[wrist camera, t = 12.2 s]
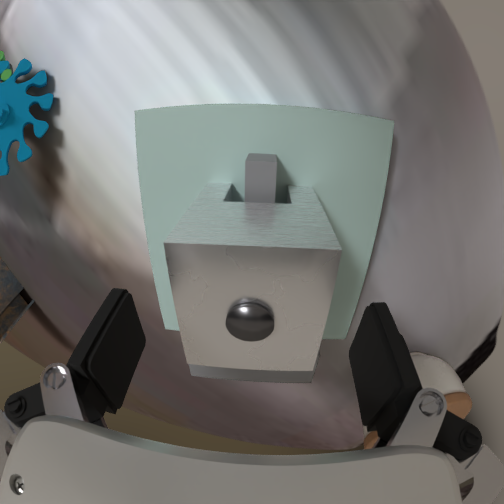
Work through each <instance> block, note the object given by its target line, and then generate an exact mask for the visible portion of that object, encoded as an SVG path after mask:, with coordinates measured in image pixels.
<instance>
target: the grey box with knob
mask: <svg viewBox="0 0 504 504" xmlns="http://www.w3.org/2000/svg"><path fill="white" fill-rule="evenodd" d="M164 250H165V256H166V262H167V268H168V274H169V280H170V285H171V291H172V296H173V301H174V306H175V311H176V316H177V321H178V325H179V330H180V334H181V339H182V343H183V347H184V351H185V355H186V359H187V363H188V364H194V365H203V366H212V367H223V368H236V369H251V370H275V371H313V368H314V365H315V361H316V358H317V355H318V351H319V347H320V344H321V340H322V336H323V333H324V329H325V325H326V321H327V317H328V313H329V309H330V304H331V300H332V296H333V291H334V287H335V282H336V278H337V273H338V268H339V263H340V258H341V253H342V249H341V246H340V244H339V242H338V240H337V237H336V235H335V233H334V231H333V229H332V227H331V224H330V222H329V220H328V218H327V216H326V214H325V212H324V210H323V208H322V206H321V203H320V201H319V199H318V197H317V195H316V193H315V191H314V189H313V187H312V186H300V185H288V187H287V204H281V203H257V202H232V183H207V184H206V186H205V187H204V188H203V189H202V191H201V192H200V193H199V195H198V196H197V197H196V199H195V200H194V201H193V203H192V204H191V205H190V207H189V208H188V209H187V211H186V212H185V213H184V215H183V216H182V217H181V219H180V220H179V221H178V223H177V224H176V226H175V227H174V228H173V230H172V231H171V233H170V234H169V235H168V237H167V238H166V240H165V241H164Z"/></svg>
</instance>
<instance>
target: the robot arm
mask: <svg viewBox="0 0 504 504" xmlns="http://www.w3.org/2000/svg"><path fill="white" fill-rule="evenodd" d="M145 343H146V339H145V335H144V332H143V329H142V326H141V323H140V320H139V317H138V314H137V311H136V308H135V305H134V301H133V298H132V295H131V294H130V293H128V291H127V290H126V289H118V288H113V289H112V290H111V292H110V293H109V295H108V296H107V298H106V299H105V301H104V302H103V304H102V305H101V307H100V309H99V310H98V312H97V313H96V315H95V316H94V318H93V320H92V321H91V323H90V325H89V326H88V328H87V329H86V331H85V333H84V334H83V336H82V338H81V340H80V341H79V343H78V345H77V346H76V348H75V350H74V352H73V353H72V355H71V357H70V359H69V361H68V363H67V365H66V366H65V365H64V364H61V363H54V364H51V365H49V366H48V367H46V368H45V369H44V371H43V372H42V374H41V377H40V383H38V384H35V385H33V386H31V387H28V388H26V389H24V390H21V391H19V392H17V393H14V394H12V395H11V396H10V397H9V398H8V399H7V401H6V403H5V407H4V408H5V411H3V410H0V504H492V503H493V501H494V500H495V498H496V497H497V496H498V494H499V493H500V491H501V490H502V488H503V486H504V465H503V463H502V462H501V461H500V460H499V459H498V458H497V457H496V455H495V454H494V453H493V452H492V451H491V450H490V449H489V447H488V446H487V445H486V444H485V445H482V436H481V433H480V431H479V430H478V428H477V427H475V426H474V425H472V424H470V423H469V422H467V421H465V420H463V419H462V418H460V417H458V416H457V415H455V414H453V413H452V412H450V411H448V410H447V401H446V399H445V397H444V395H443V394H442V393H441V392H440V391H438V390H437V389H434V388H424V389H423V388H422V385H421V382H420V379H419V376H418V374H417V371H416V368H415V366H414V363H413V360H412V358H411V355H410V353H409V350H408V348H407V345H406V343H405V340H404V338H403V336H402V335H401V334H399V331H398V329H397V327H396V324H395V322H394V320H393V317H392V315H391V313H390V311H389V308H388V306H387V304H386V303H385V302H381V303H371V304H370V306H367V307H366V309H365V311H364V314H363V317H362V319H361V322H360V325H359V327H358V330H357V333H356V335H355V338H354V340H353V343H352V345H351V347H350V350H349V359H350V364H351V368H352V373H353V378H354V382H355V387H356V392H357V397H358V402H359V408H360V413H361V419H362V424H363V425H364V426H367V432H371V431H377V434H378V437H379V438H378V439H377V441H376V443H375V444H374V446H373V447H372V449H365V450H357V451H349V452H339V453H327V454H313V455H251V454H250V455H249V454H236V453H224V452H215V451H207V450H200V449H193V448H187V447H180V446H175V445H170V444H165V443H160V442H155V441H151V440H147V439H143V438H139V437H135V436H132V435H128V434H124V433H121V432H117V431H113V430H110V429H108V427H107V425H106V423H105V420H104V418H103V416H104V413H105V411H107V412H109V413H113V414H116V411H117V409H120V408H121V406H122V404H123V401H124V398H125V395H126V393H127V390H128V387H129V385H130V382H131V379H132V377H133V374H134V372H135V369H136V367H137V364H138V361H139V359H140V356H141V354H142V352H143V349H144V347H145Z"/></svg>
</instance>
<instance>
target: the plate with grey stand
mask: <svg viewBox="0 0 504 504" xmlns="http://www.w3.org/2000/svg"><path fill="white" fill-rule="evenodd" d="M393 129H394V121H391V120H387V119H382V118H377V117H372V116H367V115H361V114H355V113H349V112H342V111H335V110H328V109H319V108H310V107H299V106H286V105H268V104H204V105H186V106H173V107H163V108H153V109H145V110H138V111H135V131H136V148H137V161H138V173H139V183H140V192H141V200H142V208H143V216H144V223H145V230H146V236H147V242H148V248H149V254H150V260H151V265H152V270H153V276H154V281H155V286H156V290H157V295H158V300H159V304H160V308H161V313H162V317H163V321H164V325H165V329H171V330H179V325H178V321H177V316H176V311H175V306H174V301H173V296H172V291H171V285H170V280H169V274H168V268H167V262H166V256H165V250H164V241H165V240H166V238H167V237H168V235H169V234H170V233H171V231H172V230H173V228H174V227H175V226H176V224H177V223H178V221H179V220H180V219H181V217H182V216H183V215H184V213H185V212H186V211H187V209H188V208H189V207H190V205H191V204H192V203H193V201H194V200H195V199H196V197H197V196H198V195H199V193H200V192H201V191H202V189H203V188H204V187H205V186H206V184H207V183H232V202H257V203H281V204H287V187H288V185H300V186H312V187H313V189H314V191H315V193H316V195H317V197H318V199H319V201H320V203H321V206H322V208H323V210H324V212H325V214H326V216H327V218H328V220H329V222H330V224H331V227H332V229H333V231H334V233H335V235H336V237H337V240H338V242H339V244H340V246H341V249H342V253H341V258H340V263H339V268H338V273H337V278H336V282H335V287H334V291H333V296H332V300H331V304H330V309H329V313H328V317H327V321H326V325H325V329H324V333H323V336H322V339H345V338H346V336H347V333H348V330H349V327H350V324H351V321H352V318H353V315H354V312H355V309H356V306H357V303H358V299H359V296H360V293H361V289H362V286H363V283H364V279H365V276H366V272H367V268H368V264H369V261H370V257H371V253H372V249H373V245H374V241H375V236H376V232H377V228H378V223H379V218H380V214H381V209H382V203H383V198H384V193H385V187H386V181H387V175H388V169H389V162H390V155H391V147H392V139H393ZM179 331H180V330H179ZM319 357H320V352H319V351H318V355H317V358H316V361H315V365H314V368H313V371H275V370H251V369H236V368H223V367H212V366H203V365H194V364H189V368H190V372H191V376H199V377H207V378H216V379H227V380H239V381H253V382H275V383H311V382H312V379H313V376H314V373H315V370H316V367H317V364H318V360H319Z"/></svg>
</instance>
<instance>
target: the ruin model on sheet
mask: <svg viewBox="0 0 504 504" xmlns="http://www.w3.org/2000/svg"><path fill="white" fill-rule="evenodd" d="M22 289H23V286H22V285H21V284H20V283H19V282H18V280H17V279H16V278H15V276H14V275H13V274H12V272H11V271H10V270H9V268H8V267H7V266H6V264H5V263H4V261H3V260H2V259H1V257H0V343H2V341H3V340H4V339H5V337H6V336H7V335H8V333H9V332H10V331H11V330H12V328H13V327H14V326H15V324H16V323H17V322H18V321H19V319H20V318H21V317H22V316H23V314H24V313H25V312H26V311H27V310H28V308H29V307H30V306H31V305H32V304H33V302H34V300H32V301H31V302H30V303H29V305H28V304H27V303H26V301H25V300H24V299H23V298H22V297H21V295H20V294H19V293H20V292H21V291H22Z"/></svg>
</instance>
